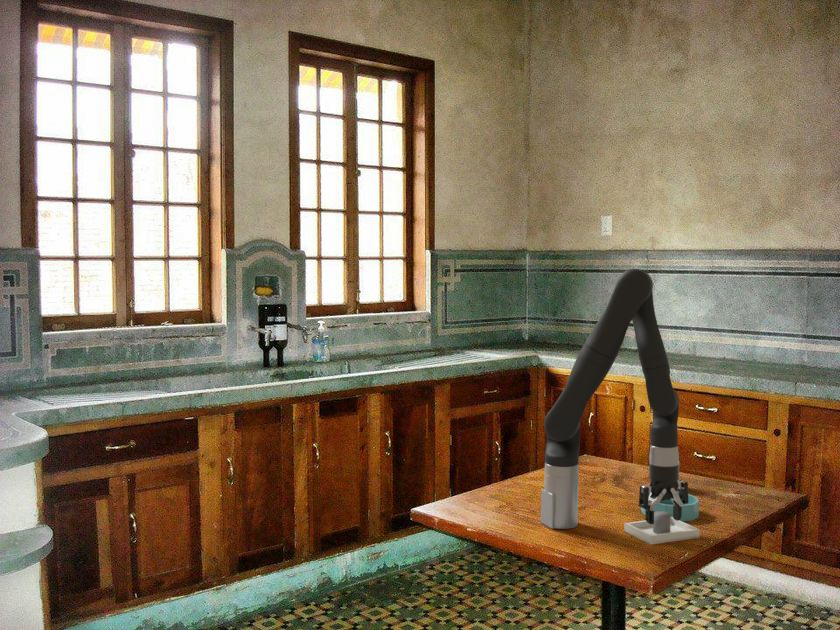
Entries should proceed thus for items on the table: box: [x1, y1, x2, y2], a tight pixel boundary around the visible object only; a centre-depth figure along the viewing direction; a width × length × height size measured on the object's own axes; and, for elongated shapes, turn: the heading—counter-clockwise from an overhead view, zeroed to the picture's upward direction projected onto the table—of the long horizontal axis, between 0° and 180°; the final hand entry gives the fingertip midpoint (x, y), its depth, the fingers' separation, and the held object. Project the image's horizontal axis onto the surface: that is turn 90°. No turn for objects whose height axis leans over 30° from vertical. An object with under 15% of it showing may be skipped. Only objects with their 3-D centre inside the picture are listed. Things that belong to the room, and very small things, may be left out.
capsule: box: [653, 511, 671, 534], centre depth 231 cm, size 4×4×5 cm
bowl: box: [640, 490, 700, 522], centre depth 250 cm, size 16×16×4 cm
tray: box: [623, 517, 701, 545], centre depth 231 cm, size 16×12×2 cm
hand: (663, 521), depth 231 cm, fingers open, 8 cm apart
